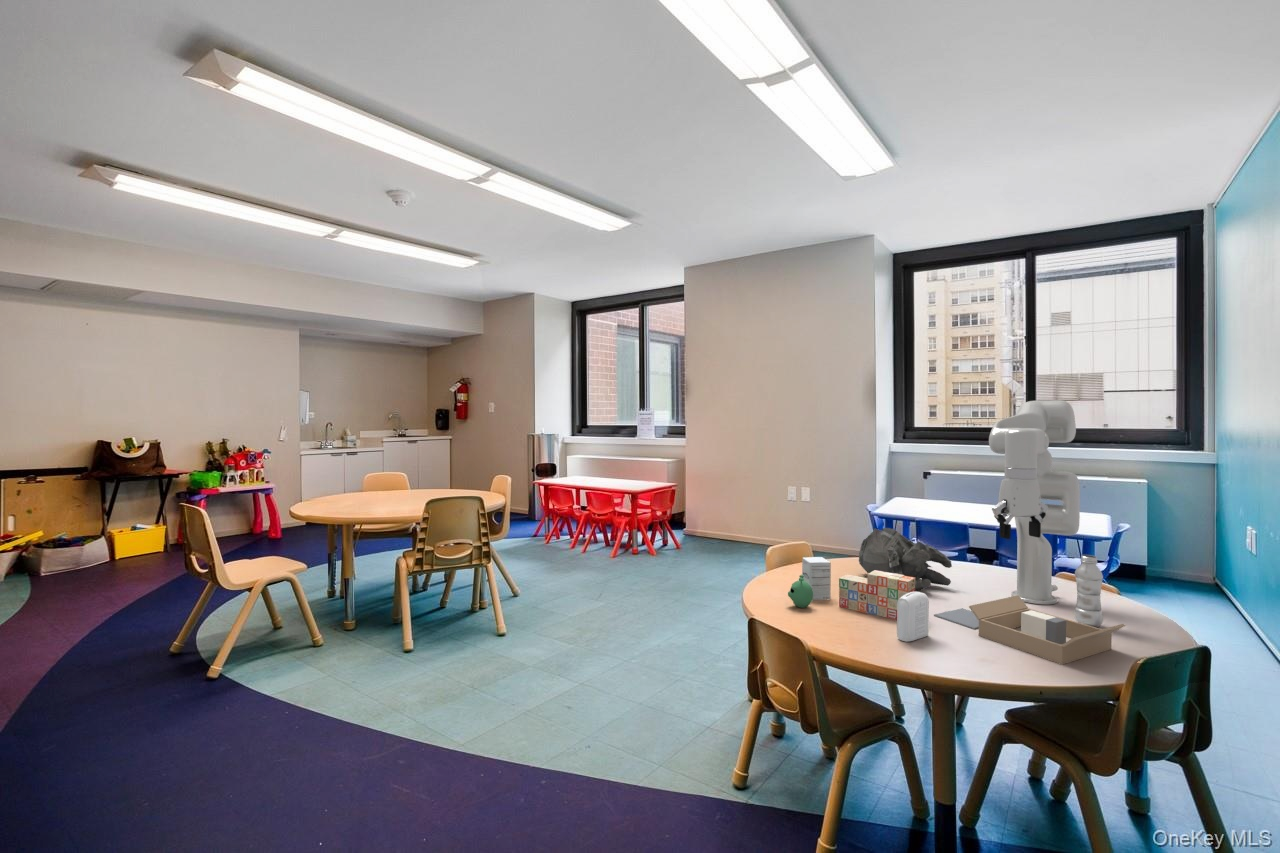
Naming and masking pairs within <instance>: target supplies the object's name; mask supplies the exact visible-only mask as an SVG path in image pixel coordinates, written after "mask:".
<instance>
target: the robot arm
mask: <svg viewBox="0 0 1280 853" xmlns="http://www.w3.org/2000/svg"><path fill="white" fill-rule="evenodd" d="M1075 417H1076V416H1075V412H1074V409H1073V407H1072V405H1071V404H1070V403H1069V402H1068V401H1066V400H1059V399H1057V400H1051V399H1050V400H1029V401H1026V402H1024V403H1022V404H1021V405H1020V406H1019V407H1018V409H1017V411H1016V414H1015V415H1012V416H1010V417H1009V416H1008V417H1006V418H1002V419H1000V420H998V421H997V422H995V423H994V424H993V426H992V428H991V430H990V433H989V436H988V445H989V449H990V450H991V451H992V452H993V453H995V454H997V455H999V454H1000V455H1004V478H1003V479H1001V482H1000V485H999V494H998V501H997V502H998V503H997V504H995V505H994V506H992V507H991V511H992V513H993V517H994V518H995V520H996V522H997V523H998V524H999V530H998V531H999V538H1002V539H1005V540H1011V538H1012V525H1011V524H1010V522H1011V521H1012V519H1013V518H1014V521H1015V522H1014V523H1015V527H1016V537H1017V538H1016V540H1017V542H1016V544H1017V549H1016V550H1017V551H1016V552H1017V553H1016V554H1017V555H1016V556H1017V558H1016V560H1017V561H1016V564H1017V566H1016V573H1017V574H1016V590H1013V591H1011V597H1013V596H1018V595H1019V597H1020V598H1021V599H1022V601H1024V603H1027V604H1028V603H1030V604H1035V605H1055V604H1056V603H1058V597H1056V596H1055V595H1053V594H1052V593H1053V592H1056V591H1058V586H1057V585H1056V584H1052V575H1053V573H1052V572H1053V568H1052V567H1053V566H1052V565H1053V559H1052V558H1053V557H1052V556H1053V549H1052V545H1051V543H1050V542H1049V540H1048V539H1047V538H1046V537H1045V536H1044V534H1049V535H1060V536H1075V535H1077V533H1078V532H1079V531H1080V530H1079V529H1080V519H1081V517H1080V506H1081V504H1080V503H1081V502H1080V498H1081V495H1080V494H1081V492H1080V488H1081V487H1080V481H1079V478H1078V476H1077V474H1076V473H1074V472H1072V471H1071V472H1070V471H1066V470H1065V471H1064V470H1063V471H1061V470H1053V467H1052V465H1053V464H1052V462H1053V457H1052V454H1051V452H1050V451H1049V450H1048V449H1049V445H1050V444H1052V443H1057V444H1059V443H1060V444H1065V443H1067V444H1068V443H1071V442H1072V441H1074V439H1075V437H1076V434H1077V426H1076V418H1075ZM1042 500H1047V501H1057V502H1058V501H1059V502H1060V503H1062V504H1054V503H1053V504H1051V503H1044V502H1042Z"/></svg>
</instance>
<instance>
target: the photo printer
mask: <svg viewBox="0 0 1280 853" xmlns="http://www.w3.org/2000/svg"><path fill="white" fill-rule="evenodd" d="M929 602H930V599H929V597H928V595H927V594H926V593H925V592H921V591H915V592H910V593H907V594H905V595H903V596H902V597H901V598H900V599H899V600H898V603H897V620H896V637H897V639H898V640H900V641H903V642H906V643H907V642H914V641H916V640H919V639H922V638H925V637H927V636H928V635H929V632H930V631H929V628H930V626H929V625H930V624H929V623H930V622H929V619H930V618H929V617H930V615H929V614H930V612H929V611H930V610H929V608H930V603H929Z"/></svg>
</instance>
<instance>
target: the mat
mask: <svg viewBox="0 0 1280 853" xmlns="http://www.w3.org/2000/svg"><path fill="white" fill-rule="evenodd" d="M933 616H934V617H937V618H939V619H942V620H945V621H948V622H951V623H953V624H958V625H960V626H963V627H966V628H968V629H972V630H976V629H978V630H979V620H978V619H977V618H976V616H975V615H974V614H973V612H972V611H971V609H970V610H969V609H966V608H957V609H953V610H948V611H944V612H939V613H935V614H933Z"/></svg>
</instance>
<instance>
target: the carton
mask: <svg viewBox="0 0 1280 853" xmlns="http://www.w3.org/2000/svg"><path fill="white" fill-rule="evenodd" d="M968 608H969V609H970V611H972V612H973V614H974V615H975V616H976V618H977V619H978V620H979V628H978V637H981V636H982V638H984V639H988V640H990V639H991V640H990V641H993V642H997V643H999V644H1001V643H1002V645H1005V646H1008V647H1010V646H1011V648H1013V647H1014V648H1013V649H1016V648H1018V649H1017V650H1019V649H1020V650H1019V651H1022V650H1023V651H1022V652H1024V651H1026V652H1025V653H1027V652H1029V653H1028V654H1030V653H1032V654H1031V655H1033V654H1035V655H1034V656H1036V655H1038V656H1037V657H1039V656H1041V657H1040V658H1042V657H1044V658H1043V659H1045V658H1046V659H1045V660H1047V659H1049V660H1048V661H1050V660H1051V662H1053V661H1054V662H1053V663H1056V662H1057V664H1059V663H1060V664H1059V665H1064V664H1065V663H1066V664H1068V663H1071V662H1074V661H1078V660H1082V659H1084V658H1088V657H1090V656H1094V655H1097V654H1101V653H1104V652H1107V651H1110V650H1112V642H1113V640H1112V638H1113V637H1112V635H1113V633H1115V632H1117V631H1118V630H1120V629H1122V628H1124V627H1125V626H1126V624H1125V623H1121V624H1117V625H1113V626H1110V627H1105V628H1103V629H1102V628H1099V627H1094V626H1089V625H1085V624H1082V623H1078V622H1077V621H1076V620H1075V621H1074V620H1071V619H1067V618H1065V617H1060V616H1056V615H1053V614H1049V613H1046V612H1043V611H1038V610H1035V609H1032V608H1029V607H1028V605H1027V604H1026V602H1023V601H1022V599H1021V598H1020V597H1019V595H1018V596H1013V597H1012V596H1010V597H1005V598H999V599H995V600H991V601H985V602H981V603H976V604H973V605H969V606H968ZM1030 610H1032V611H1036V612H1039V613H1043V614H1046V615H1050V616H1053V617H1057V618H1061V619H1064V620H1066V638H1071V639H1069V640H1068V641H1067V640H1066V643H1064V644H1061V645H1060V644H1057V643H1054V642H1051V641H1048V640H1045V639H1042V638H1039V637H1036V636H1032V635H1029V634H1026V633H1023V632H1021V630H1016V628H1015V627H1017V628H1020V627H1019V626H1021V613H1022V612H1026V611H1030ZM1012 628H1013V629H1012Z"/></svg>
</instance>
